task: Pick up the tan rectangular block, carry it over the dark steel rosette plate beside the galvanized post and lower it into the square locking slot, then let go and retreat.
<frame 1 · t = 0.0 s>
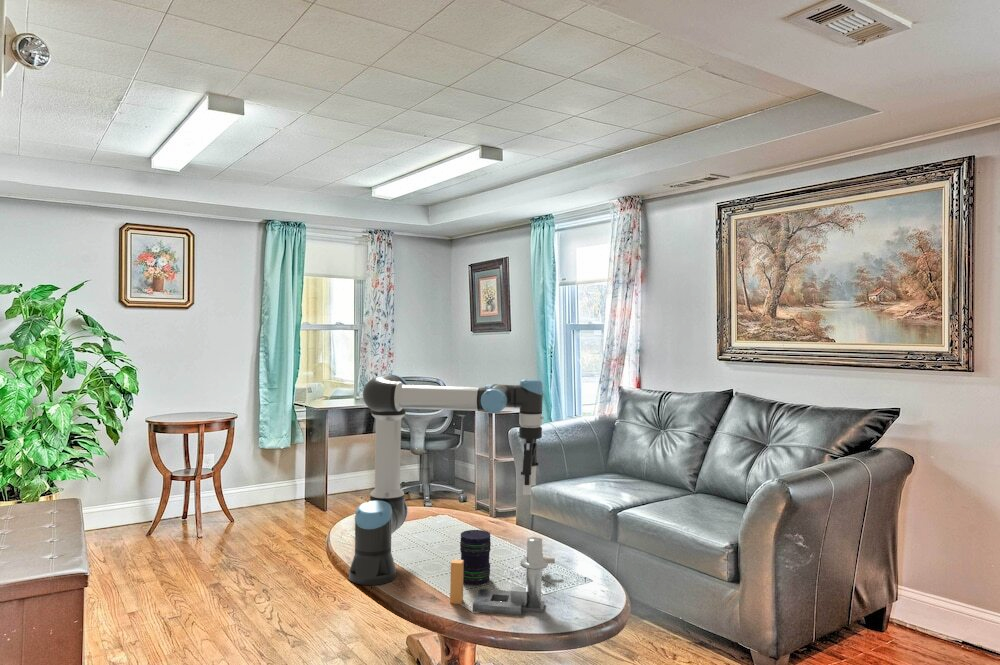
hand: (529, 489, 232), 28 cm above the table, fingers open, 13 cm apart
pipe connector: (539, 575, 231), on the table
tan rectangular block: (456, 601, 208), on the table
rosette node: (499, 604, 206), on the table
storage jar: (474, 580, 226), on the table
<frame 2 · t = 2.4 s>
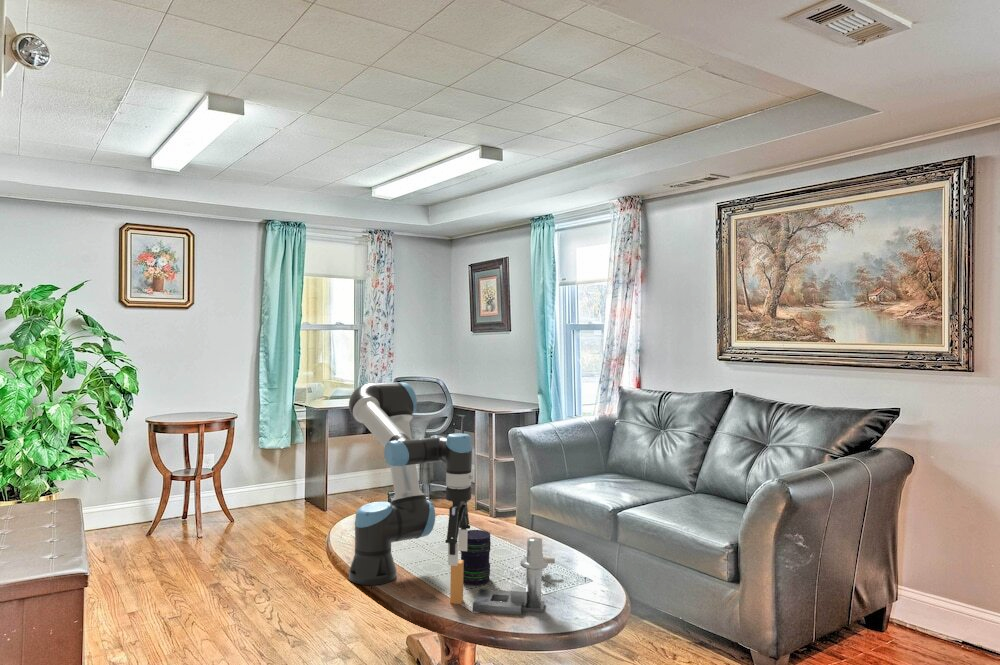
hand: (458, 557, 208), 13 cm above the table, fingers open, 13 cm apart
nothing on the table moved.
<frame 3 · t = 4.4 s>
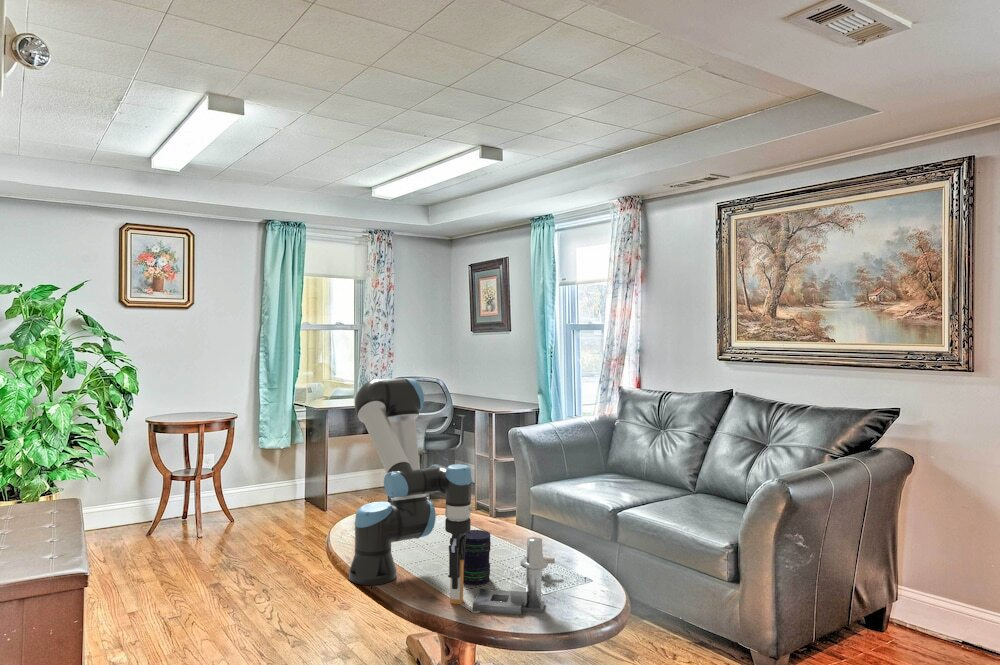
hand: (456, 596, 208), 2 cm above the table, fingers closed on tan rectangular block, 3 cm apart
tan rectangular block: (456, 601, 208), on the table, touching gripper
everything else where it was.
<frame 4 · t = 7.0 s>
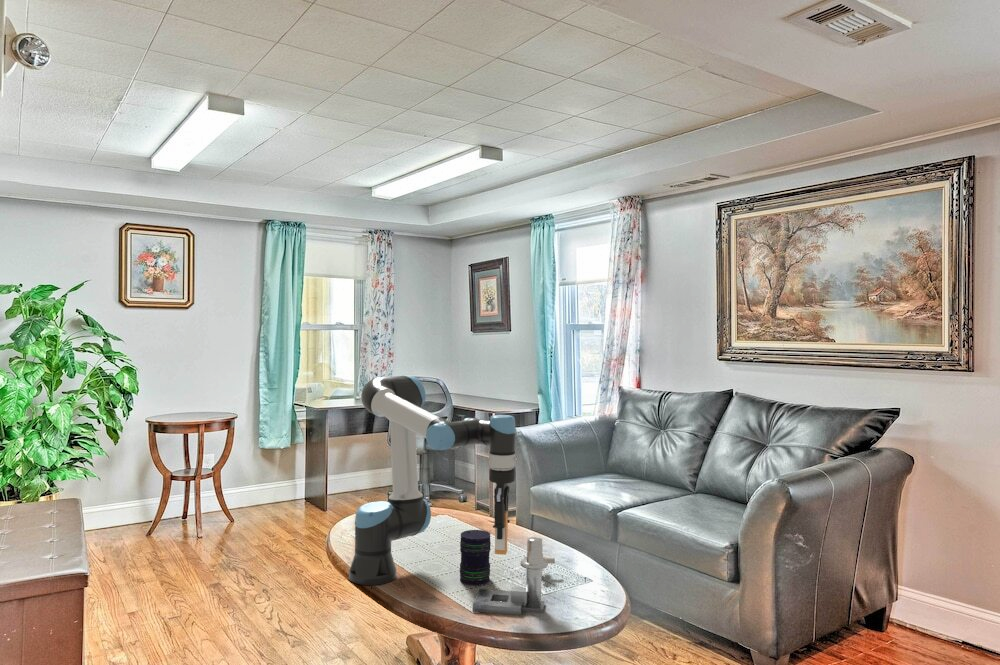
hand: (501, 547, 206), 17 cm above the table, fingers closed on tan rectangular block, 3 cm apart
tan rectangular block: (501, 552, 206), point 16 cm above the table, touching gripper
everything else where it was.
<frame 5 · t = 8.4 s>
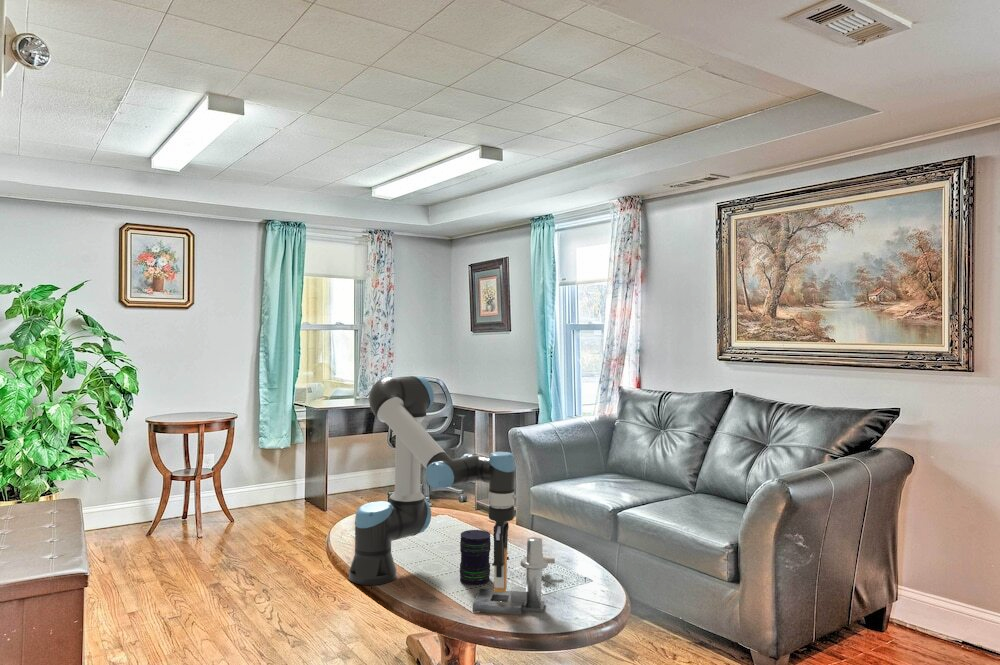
hand: (500, 584, 206), 6 cm above the table, fingers closed on tan rectangular block, 3 cm apart
tan rectangular block: (500, 589, 206), point 4 cm above the table, touching gripper
everything else where it was.
when the fingers open (3 cm above the table, at t = 9.5 s): tan rectangular block drops 1 cm, resting in rosette node.
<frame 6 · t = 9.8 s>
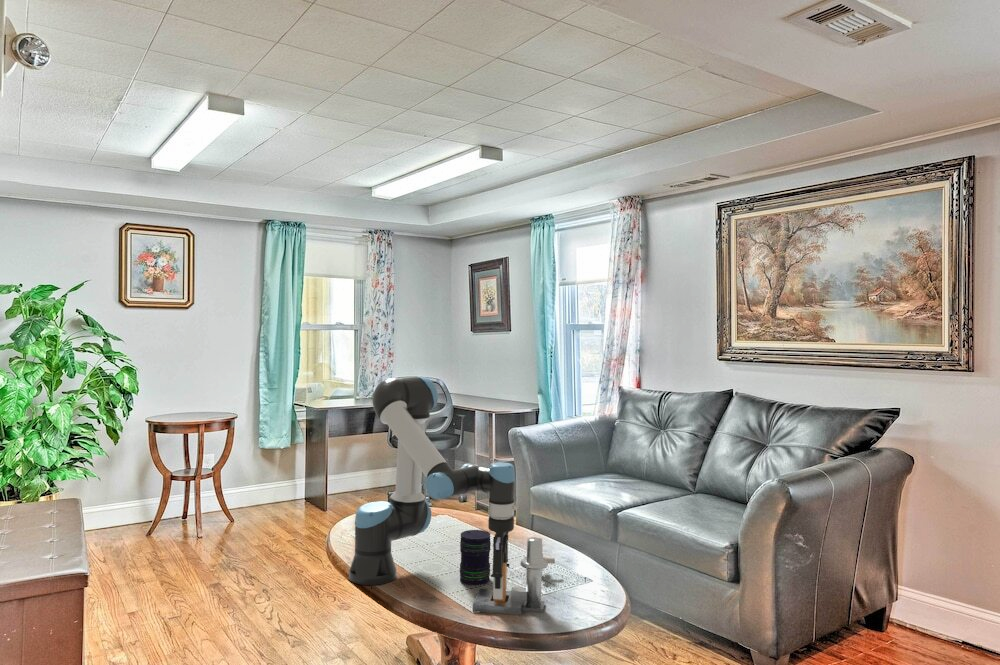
hand: (499, 593, 206), 3 cm above the table, fingers open, 7 cm apart
tan rectangular block: (499, 604, 206), resting in rosette node
everything else where it was.
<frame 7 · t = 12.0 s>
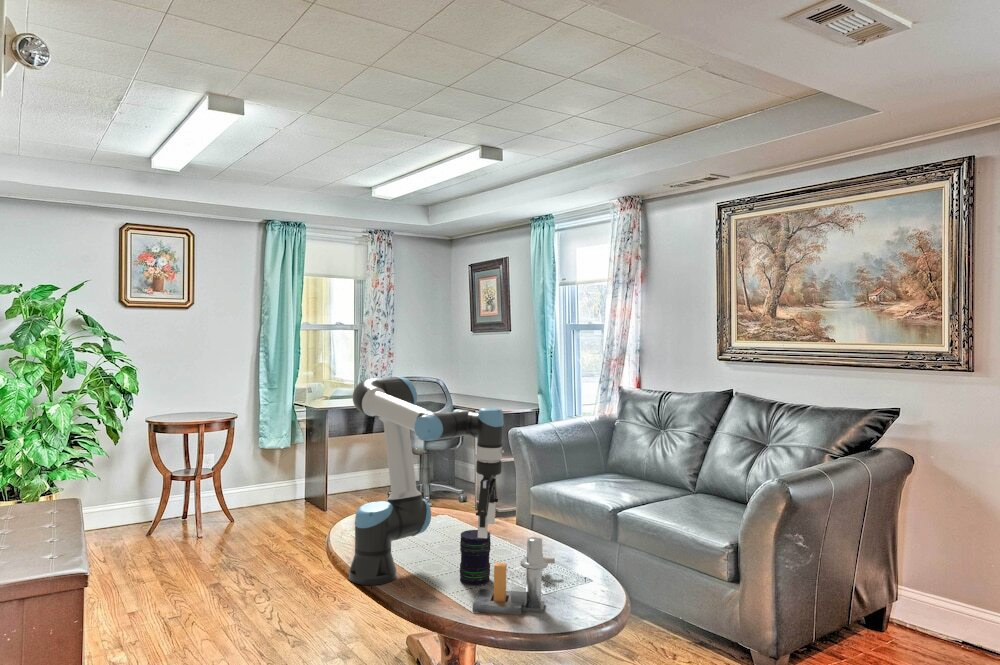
hand: (486, 530, 209), 21 cm above the table, fingers open, 13 cm apart
nothing on the table moved.
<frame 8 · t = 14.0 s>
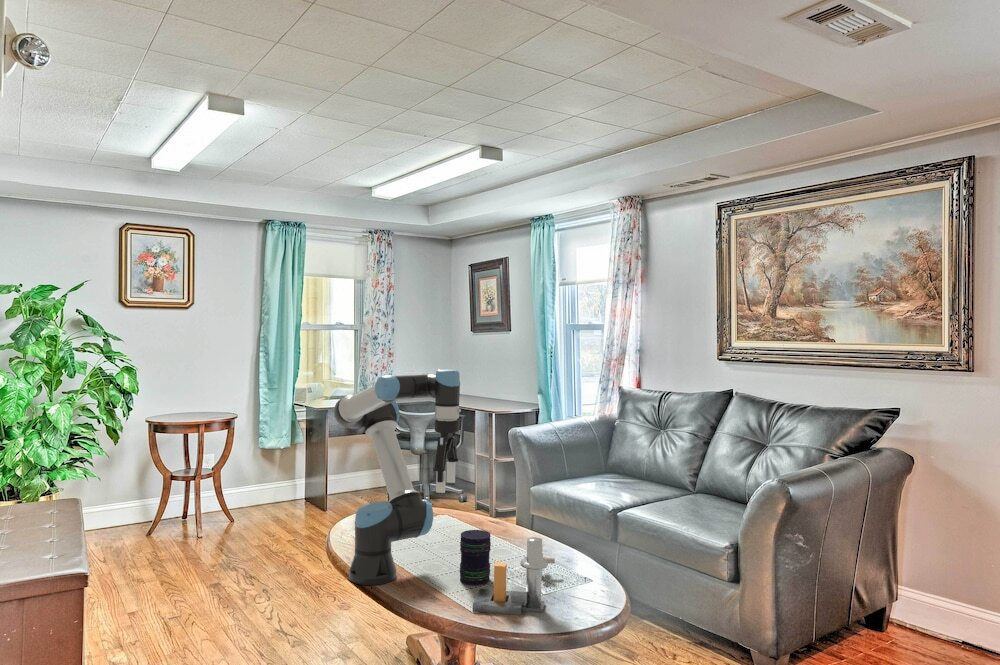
hand: (445, 487, 218), 32 cm above the table, fingers open, 13 cm apart
nothing on the table moved.
at the end: tan rectangular block 0.0 cm off-centre on the rosette node, point 0.0 cm above the rosette node's base; tan rectangular block tilted 0°; the gripper is holding nothing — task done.
